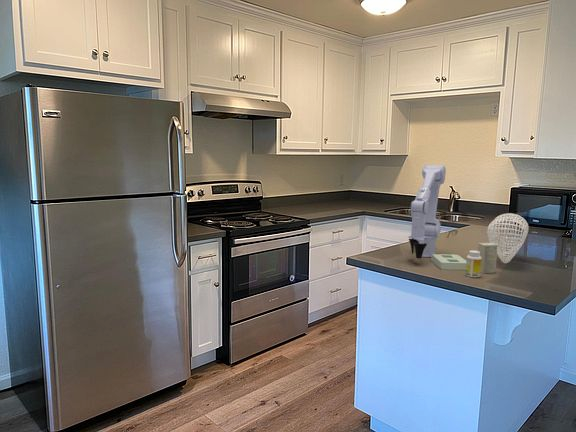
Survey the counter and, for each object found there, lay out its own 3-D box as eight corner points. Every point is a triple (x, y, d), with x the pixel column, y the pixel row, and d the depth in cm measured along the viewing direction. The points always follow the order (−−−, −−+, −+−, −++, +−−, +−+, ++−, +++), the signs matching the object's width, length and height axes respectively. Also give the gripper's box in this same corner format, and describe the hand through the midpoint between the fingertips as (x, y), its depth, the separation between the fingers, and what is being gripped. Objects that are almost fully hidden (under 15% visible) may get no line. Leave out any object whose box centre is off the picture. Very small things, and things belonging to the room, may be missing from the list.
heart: (490, 255, 212) (494, 210, 209) (526, 259, 204) (530, 213, 201) (482, 267, 189) (486, 217, 186) (522, 272, 181) (526, 220, 177)
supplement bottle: (482, 275, 175) (484, 251, 174) (477, 278, 171) (479, 253, 170) (468, 273, 179) (470, 249, 177) (463, 275, 175) (465, 251, 173)
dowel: (412, 261, 197) (413, 242, 196) (418, 261, 197) (419, 242, 196) (413, 263, 194) (414, 244, 193) (420, 263, 194) (421, 244, 193)
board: (431, 260, 200) (431, 254, 200) (457, 260, 200) (457, 254, 199) (441, 269, 184) (441, 262, 184) (469, 270, 184) (470, 263, 183)
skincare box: (490, 270, 184) (492, 242, 182) (495, 273, 179) (498, 244, 178) (476, 270, 183) (478, 242, 182) (481, 273, 179) (483, 244, 177)
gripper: (405, 224, 201) (404, 252, 203) (413, 229, 186) (411, 259, 188) (421, 224, 200) (419, 252, 202) (429, 229, 186) (427, 260, 188)
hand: (416, 256), depth 195 cm, fingers open, 7 cm apart
